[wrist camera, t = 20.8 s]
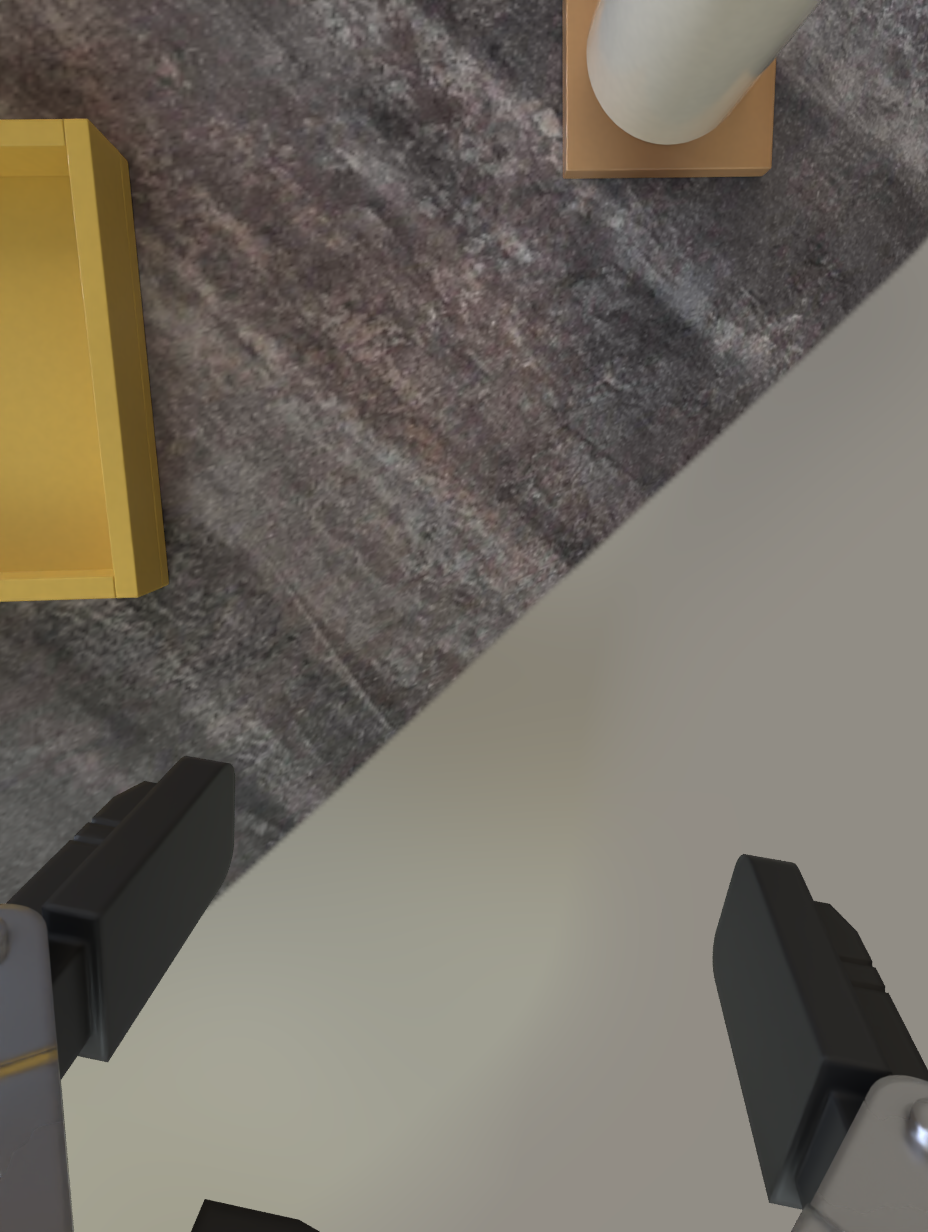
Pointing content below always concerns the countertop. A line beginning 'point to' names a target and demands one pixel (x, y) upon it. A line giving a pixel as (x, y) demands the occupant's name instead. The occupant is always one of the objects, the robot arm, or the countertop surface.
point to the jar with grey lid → (684, 60)
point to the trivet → (617, 154)
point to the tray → (73, 373)
